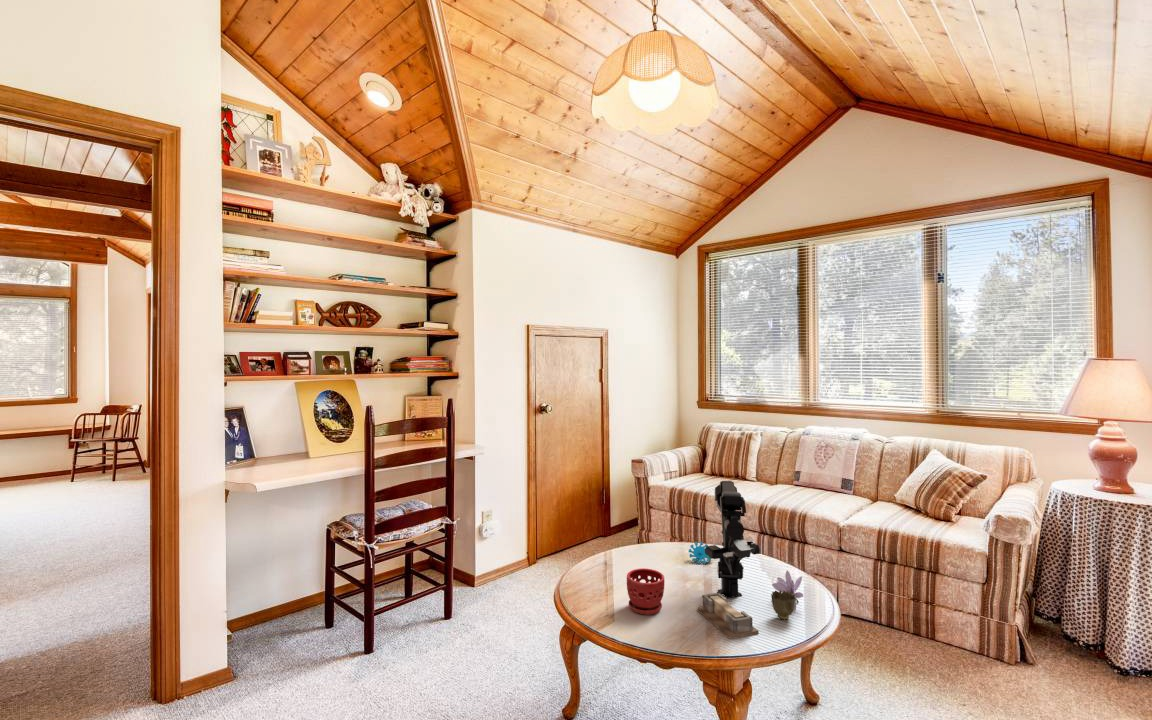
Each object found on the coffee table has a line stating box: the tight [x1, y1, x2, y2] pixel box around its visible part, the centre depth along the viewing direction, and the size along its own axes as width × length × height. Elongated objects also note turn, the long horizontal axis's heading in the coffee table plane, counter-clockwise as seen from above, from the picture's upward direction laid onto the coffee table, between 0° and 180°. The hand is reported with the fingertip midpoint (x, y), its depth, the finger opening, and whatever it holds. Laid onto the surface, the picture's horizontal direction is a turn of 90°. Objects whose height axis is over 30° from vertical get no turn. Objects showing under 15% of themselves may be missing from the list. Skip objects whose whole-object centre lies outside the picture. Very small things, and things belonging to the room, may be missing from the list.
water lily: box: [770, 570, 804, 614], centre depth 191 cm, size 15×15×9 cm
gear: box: [688, 541, 712, 565], centre depth 236 cm, size 11×6×10 cm
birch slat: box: [710, 596, 744, 621], centre depth 179 cm, size 16×3×4 cm, turn 16°
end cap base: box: [697, 592, 760, 639], centre depth 179 cm, size 21×10×5 cm, turn 16°
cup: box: [770, 590, 795, 621], centre depth 180 cm, size 8×7×8 cm
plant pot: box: [626, 567, 665, 615], centre depth 188 cm, size 13×13×12 cm
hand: (732, 574), depth 188 cm, fingers closed
